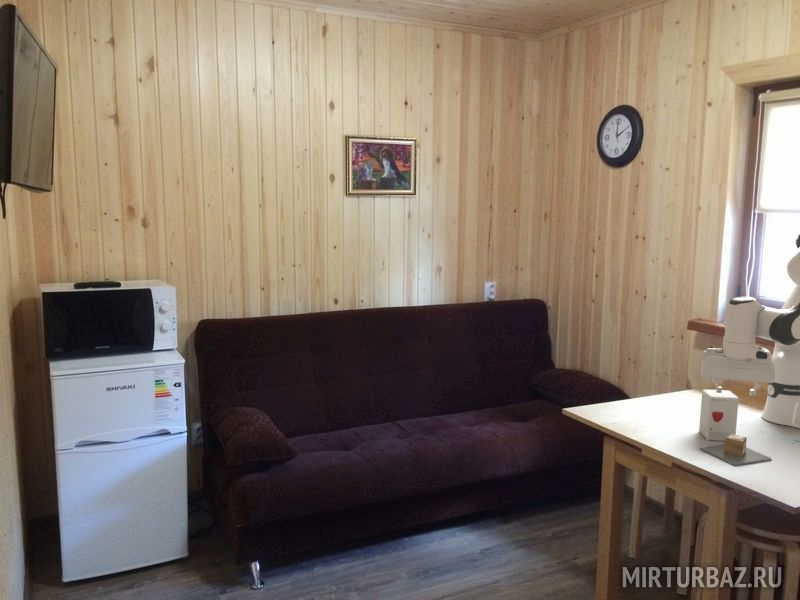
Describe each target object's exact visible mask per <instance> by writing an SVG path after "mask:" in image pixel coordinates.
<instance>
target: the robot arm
mask: <svg viewBox="0 0 800 600" xmlns="http://www.w3.org/2000/svg"><path fill="white" fill-rule="evenodd" d="M795 245H796V248H797V250H796V251H795V253H794V254H792V256H791V257H790V259H789V261H788V263H787V266H786V271H787V274H788V275H787V276H788V277H789V278H790V280H791V281H792V282H793V284H795V285H796V286H795V287H794V288H793V291H792V292H791V294H790V295H789V297H788V298H787V300H786V301H785V302H784V303H783V305H782V307H780V309H777V308H772V307H768V306H766V305H763V304H761V303H759V302H758V301H757V299H756V298H755V297H752V296H736V297H733V298H731V299H730V300H728V303H727V304H726V308H725V313H724V322H723V323H724V324H723V327H724V334H723V335H724V336H723V339H722V348H710V347H707V348H705V349H703V350H702V351H701V352H700V360H701V362H702V363H701V365H700V366H701V367H700V375H701V377H702V378H705V379H712V383H713V384H714V386H715V390H716V393H722V391H721V390H723V388H722V385H721V386H720V385H719V384H718V383H719V380H726V381H727V380H728V381H740V382H741V381H742V382H752V383H753V382H754V384H755V385H754V387H753V388H749V396H751V397H756V396H757V391H758V390H759V389H760V388H761V386H762V383H766V384H767V388H766V389H767V390H766V391H767V396H766V397H767V398H766V400H765V401H766V402H765V405H764V408H763V412H762V413H761V418H762V419H763V420H766V421H768V422H771V423H774V424H778V425H783V426H789V427H793V428H796V429H797V428H798V429H800V231H799V232H798V234H797V235H796V240H795ZM756 338H761V339H764V340H768V341H773V342H774V349H773V352H771V350H770V349H768V348H767V347H762V346H759V345H758V344H757V343H756V342H757V341H756Z"/></svg>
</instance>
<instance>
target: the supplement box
mask: <svg viewBox="0 0 800 600" xmlns="http://www.w3.org/2000/svg"><path fill="white" fill-rule="evenodd" d="M721 391H722V393H716V389H702V390H701V401H700V416H699V427H698V432H699V433H700V434H701V435H702V436H703V437H704V438H705V439H706V440H707V441H718V442H719V441H723V442H725V437H726V436H727V435H728V434H734V435H737V433H736V432H737V425H738V424H737V423H738V422H737V421H738V413H739V411H738V410H739V399H740V398H739V397H738V396H737V395H736V394H735V393H733V392H732V391H731V390H728V389H727V390H724V389H722V390H721Z"/></svg>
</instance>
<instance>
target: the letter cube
mask: <svg viewBox="0 0 800 600" xmlns="http://www.w3.org/2000/svg"><path fill="white" fill-rule="evenodd" d="M747 438H748V437H747V436H743V435H738V434H736V435H734V434H728V435H727V436H726V437H725V441H724V444H725V445H724V453H725V454H729V455H734V456H738V457H742V456H743V455H744V454H745V453H746V448H747V442H748V440H747Z"/></svg>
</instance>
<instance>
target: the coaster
mask: <svg viewBox="0 0 800 600" xmlns="http://www.w3.org/2000/svg"><path fill="white" fill-rule="evenodd" d="M724 445H725V443H724V444H723V443H722V444H716V445H709V446H702V447H699V450H700V451H703V452H704V453H707V454H708V455H711V456H712V457H715V458H717V459H719V460H722V462H723V461H724V462H725V463H727V464H730V465H731V466H734V467H738V466H739V467H740V466H743V465H750V464H757V463H763V462H769V461H772V460H773V459H772V458H771V457H769V456H766V455H765V454H764V453H763V454H762V453H760V452H759V451H755V450H753V449H751V448H748V447H746V453H745V454H744V455H743V456H742V457H738V456H734V455H729V454H725V453H724Z"/></svg>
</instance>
